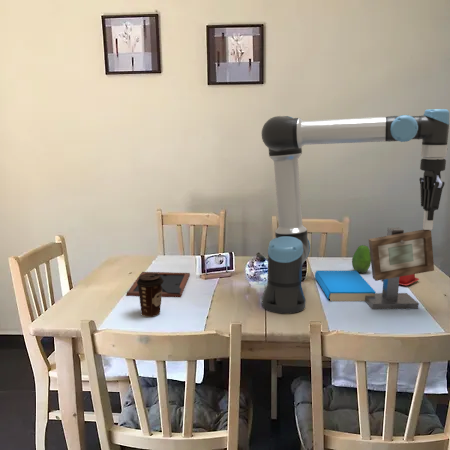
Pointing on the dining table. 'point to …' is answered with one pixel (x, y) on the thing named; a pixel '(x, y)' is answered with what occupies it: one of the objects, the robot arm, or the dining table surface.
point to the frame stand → (391, 291)
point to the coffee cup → (150, 294)
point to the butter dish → (407, 279)
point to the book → (344, 285)
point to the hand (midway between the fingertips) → (427, 229)
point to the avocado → (361, 259)
